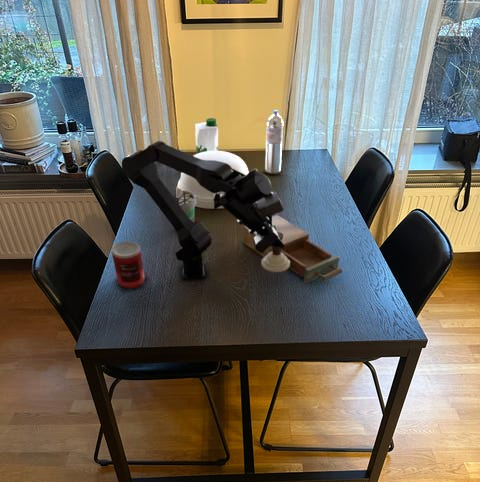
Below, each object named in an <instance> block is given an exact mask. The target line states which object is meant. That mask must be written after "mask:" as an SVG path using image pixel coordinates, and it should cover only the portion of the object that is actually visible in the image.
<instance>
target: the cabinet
mask: <svg viewBox="0 0 480 482" xmlns="http://www.w3.org/2000/svg"><path fill="white" fill-rule="evenodd" d="M272 224H273V226H274V225H275V227H276V229H277V232H280V233H282V234H283V235H284V237H283V238H282V242H283V244H284V246H286V245H289V244H291V243H294V242H296V241H299V240H301V239H304V238H306V239H307V240H309V241H310V239H309V238H310V234H309V233H308V232H306V231H304V230H303V229H301V228H300V227H297V226H296V225H295V224H293V223H291V222H290V221H288V220H286V219H284V218H283V217H281V216H280V215H278V214H275V215H272ZM256 235H257V233H256V232H254V233H253V234H251V233H249V230H248V228H247V227H246V226H245V225H244V227H243V243H244V245H246V246H247V247H249V248H250V249H252V250H253V251H254V252H256V253H257V254H258V255H260V256H261V257H262V258H264V257H265V256H266V255H268V253H270V252H272V246H270V247H268V248H267V249H266V250H265V251H264V252H263V253H260V252H259V251H258V250H256V248H255V245H254V237H255V236H256Z"/></svg>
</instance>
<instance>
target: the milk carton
mask: <svg viewBox="0 0 480 482" xmlns="http://www.w3.org/2000/svg"><path fill="white" fill-rule="evenodd" d="M194 127H195V150H196V151H195V152H196V154H198V153H201V152H206V151H219V127H218V124H217V119H216V118H214V117H211V118H210V117H209V118H206V122H200V123H195V124H194Z"/></svg>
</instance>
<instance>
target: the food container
mask: <svg viewBox="0 0 480 482" xmlns="http://www.w3.org/2000/svg"><path fill="white" fill-rule="evenodd" d="M176 201H177V203H178V204H179V205H180V207H181V208H182V209H183V211H184V212H185V213H186V215H187V216H188V217H189V219H190V220H191V221H193V222H195V207H196V206H195V205H196V199H195V196H194V195H193V194H192V193H191V192H188V191H183V194H182V195H181V197H180V198H177V199H176Z"/></svg>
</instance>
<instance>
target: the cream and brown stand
mask: <svg viewBox="0 0 480 482" xmlns="http://www.w3.org/2000/svg"><path fill="white" fill-rule="evenodd" d="M277 233H278V236H279V238H280V240H281V241H282V238H283V237H284V235H283V234H282V233H280V232H277ZM260 263H261V267H262V268H263V269H264V270H265V271H268V272H272V273H282V272H285V271H287V270H288V269H290V268H289V267H290V261H289V260H288V259H287V257H286V256H285V255H284V254H283V253H282V252H281V248H278V247H274V246H272V252H270V253H268V255H266V256H265V257H262V259H261V261H260Z"/></svg>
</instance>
